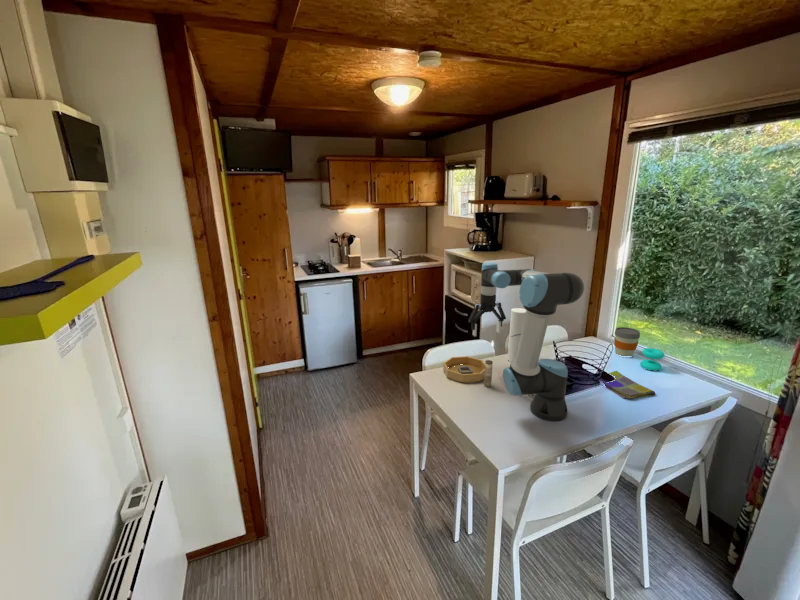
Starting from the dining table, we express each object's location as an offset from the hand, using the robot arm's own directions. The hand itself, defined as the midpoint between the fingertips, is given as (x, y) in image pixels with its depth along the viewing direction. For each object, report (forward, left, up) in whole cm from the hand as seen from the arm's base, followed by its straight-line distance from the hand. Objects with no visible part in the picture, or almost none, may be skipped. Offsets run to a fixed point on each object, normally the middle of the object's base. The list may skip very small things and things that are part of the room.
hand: (486, 334), depth 192 cm
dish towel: (-22, -62, -23) cm, 70 cm away
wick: (-12, +3, -23) cm, 26 cm away
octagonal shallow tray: (+3, +10, -23) cm, 25 cm away
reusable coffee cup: (+12, -89, -23) cm, 93 cm away
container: (+14, -23, -23) cm, 36 cm away
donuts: (-6, -91, -23) cm, 94 cm away
